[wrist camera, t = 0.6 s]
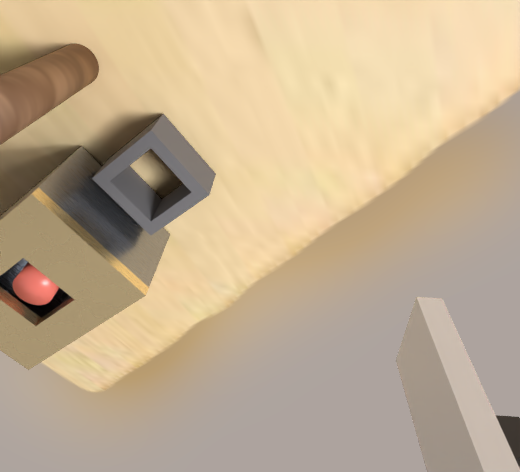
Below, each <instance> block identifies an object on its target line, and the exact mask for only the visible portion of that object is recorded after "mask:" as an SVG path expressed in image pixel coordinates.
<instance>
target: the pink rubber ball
mask: <svg viewBox="0 0 520 472" xmlns="http://www.w3.org/2000/svg"><path fill="white" fill-rule="evenodd" d="M59 288H60V287H58V286H57V285H56V284H55V283H53V282H52V281H51V280H50V279H49V278H47V277H46V276H45V275H44V274H42V273H41V272H40V271H39V270H37V269H36V268H35V267H34V266H33V265H31V264H30V263H29V262H28V263H27V264H26V265H25V267H24V268H23V269H22V270H21V272H20V273H19V274H18V275H17V276H16V278H15V279H14V281H13V290H14V292H15V293H16V295H17V296H18V297H19V298H20V299H22V300H23V301H25V302H27V303H30V304H33V305H44V304H47V303H49V302H50V301H51V300H52V298H53V297H54V295H55V294H56V292H57V291H58V289H59Z"/></svg>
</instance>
